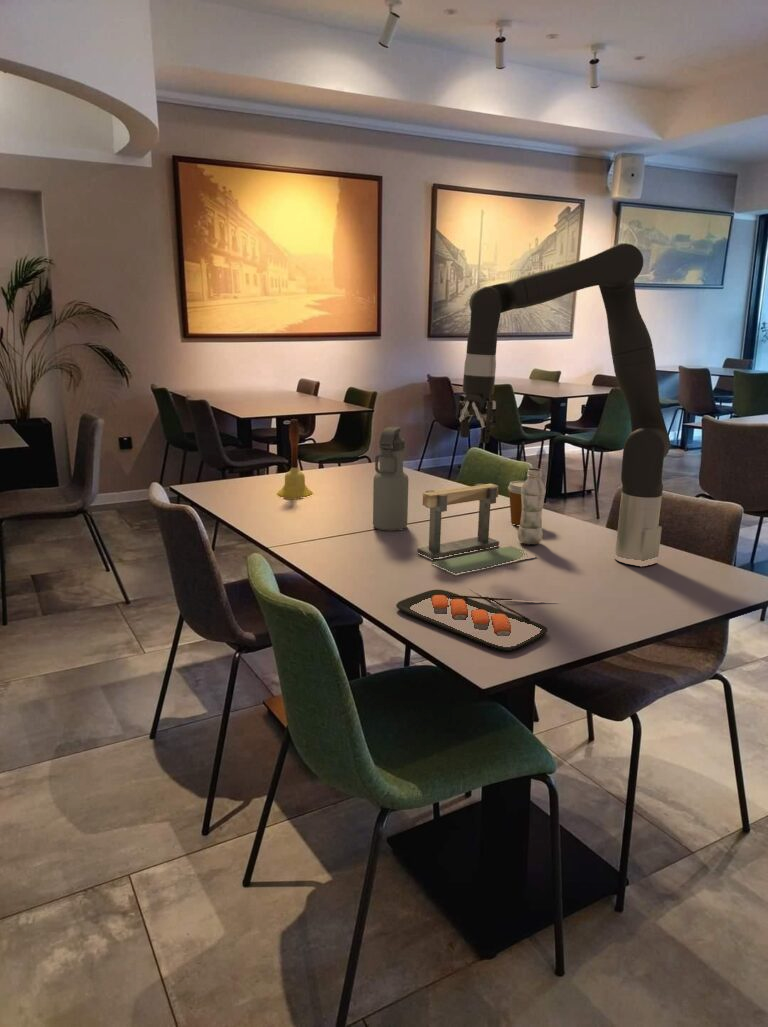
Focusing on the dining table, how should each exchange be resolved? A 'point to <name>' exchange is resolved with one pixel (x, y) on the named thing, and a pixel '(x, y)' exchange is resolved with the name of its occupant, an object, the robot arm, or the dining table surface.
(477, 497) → the beech rail
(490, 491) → the rail stand
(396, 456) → the water bottle
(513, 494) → the disposable coffee cup
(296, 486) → the handbell
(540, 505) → the plastic bottle
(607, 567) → the dining table surface
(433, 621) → the sushi plate
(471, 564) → the rubber mat
